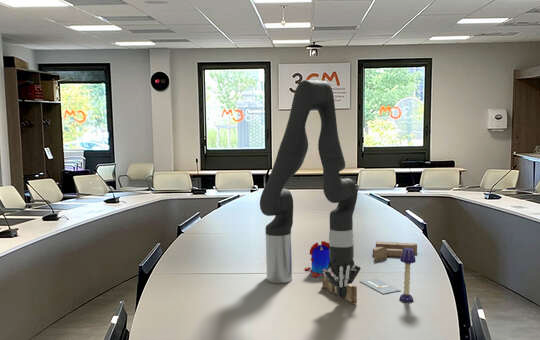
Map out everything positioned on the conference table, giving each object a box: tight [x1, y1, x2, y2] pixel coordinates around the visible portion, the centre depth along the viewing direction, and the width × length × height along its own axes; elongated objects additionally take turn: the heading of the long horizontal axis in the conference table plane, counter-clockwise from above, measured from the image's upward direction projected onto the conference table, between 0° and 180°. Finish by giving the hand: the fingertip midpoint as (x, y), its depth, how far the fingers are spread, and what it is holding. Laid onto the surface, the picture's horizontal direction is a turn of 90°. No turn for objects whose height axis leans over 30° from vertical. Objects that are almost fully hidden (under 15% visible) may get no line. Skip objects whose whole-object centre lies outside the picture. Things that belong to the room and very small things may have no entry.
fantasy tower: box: [303, 240, 334, 279], centre depth 182 cm, size 12×12×12 cm
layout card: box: [359, 277, 402, 295], centre depth 165 cm, size 14×7×1 cm, turn 22°
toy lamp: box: [399, 248, 416, 303], centre depth 151 cm, size 5×5×17 cm
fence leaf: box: [332, 276, 358, 304], centre depth 155 cm, size 13×2×5 cm, turn 24°
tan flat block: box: [321, 269, 334, 293], centre depth 164 cm, size 7×2×6 cm, turn 22°
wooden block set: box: [372, 240, 418, 262], centre depth 201 cm, size 17×6×18 cm
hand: (341, 297), depth 150 cm, fingers closed
